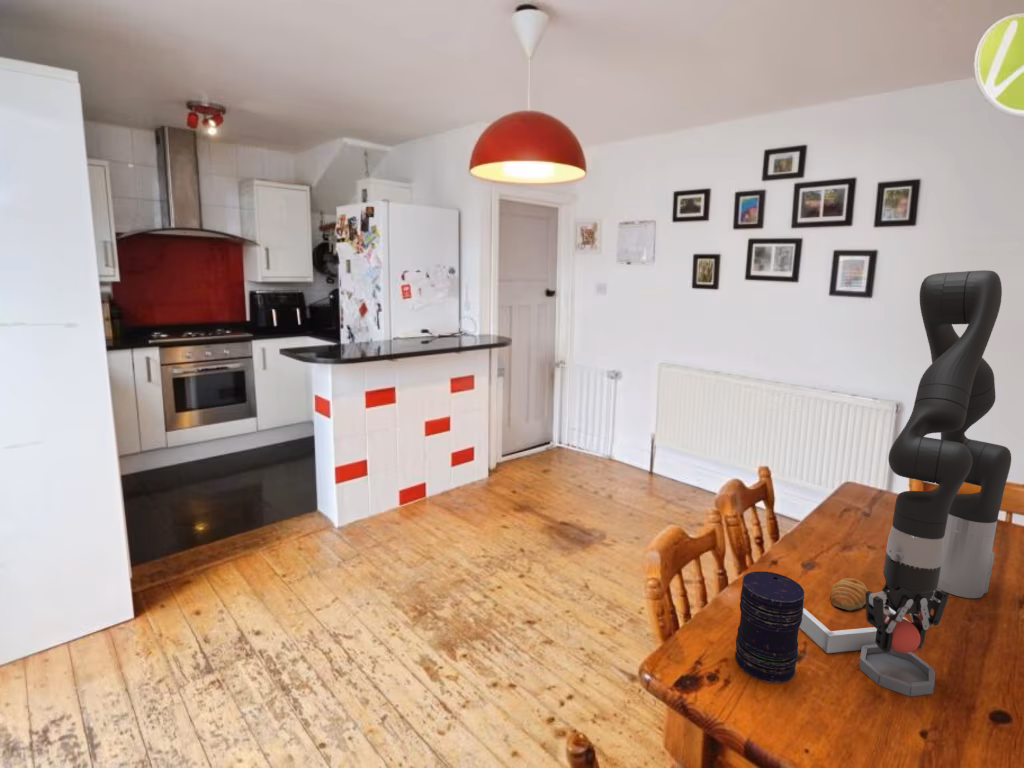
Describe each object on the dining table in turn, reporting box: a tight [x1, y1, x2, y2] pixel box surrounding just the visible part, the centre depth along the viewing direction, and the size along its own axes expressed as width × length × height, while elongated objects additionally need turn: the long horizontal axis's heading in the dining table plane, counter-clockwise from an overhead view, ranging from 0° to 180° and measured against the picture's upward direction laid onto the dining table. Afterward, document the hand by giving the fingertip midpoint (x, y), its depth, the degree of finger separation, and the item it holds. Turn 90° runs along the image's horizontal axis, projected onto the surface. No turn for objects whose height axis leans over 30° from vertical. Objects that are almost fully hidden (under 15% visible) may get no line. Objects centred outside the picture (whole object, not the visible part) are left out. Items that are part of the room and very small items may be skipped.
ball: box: [885, 618, 920, 653], centre depth 97 cm, size 6×6×6 cm
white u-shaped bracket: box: [799, 607, 911, 654], centre depth 108 cm, size 18×9×4 cm, turn 99°
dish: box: [858, 644, 936, 697], centre depth 98 cm, size 10×10×2 cm
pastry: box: [830, 577, 869, 612], centre depth 119 cm, size 9×7×4 cm
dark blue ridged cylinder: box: [734, 570, 805, 684], centre depth 99 cm, size 10×10×15 cm
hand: (898, 646), depth 97 cm, fingers closed on ball, 5 cm apart
